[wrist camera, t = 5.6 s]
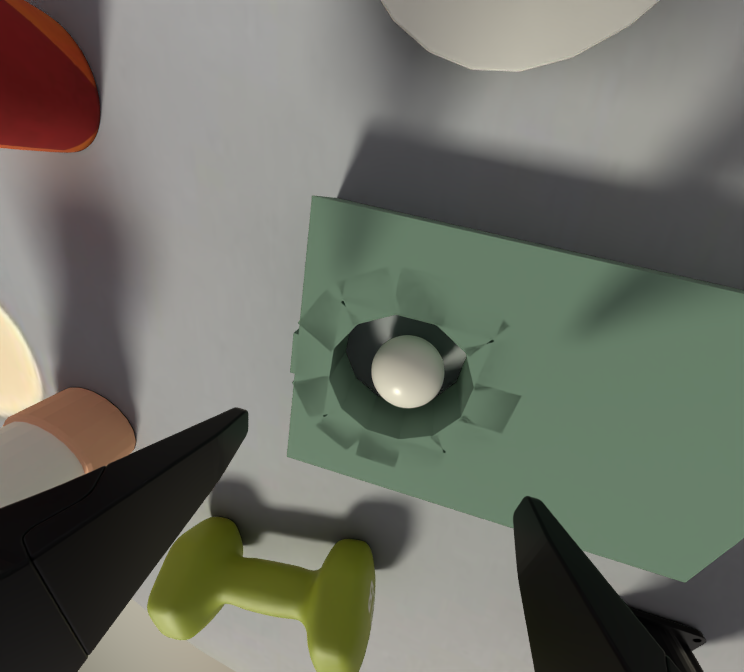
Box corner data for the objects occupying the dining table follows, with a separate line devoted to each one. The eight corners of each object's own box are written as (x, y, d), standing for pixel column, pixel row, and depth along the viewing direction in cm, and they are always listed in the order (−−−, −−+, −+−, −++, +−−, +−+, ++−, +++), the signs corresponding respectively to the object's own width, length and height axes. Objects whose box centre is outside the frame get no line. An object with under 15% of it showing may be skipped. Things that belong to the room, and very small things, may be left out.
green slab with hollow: (860, 316, 11) (991, 350, 9) (646, 525, 18) (685, 582, 15) (331, 196, 14) (305, 194, 11) (303, 421, 20) (282, 455, 17)
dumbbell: (378, 525, 23) (356, 650, 16) (381, 583, 26) (364, 708, 19) (198, 496, 26) (121, 591, 20) (221, 551, 29) (161, 649, 23)
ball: (393, 316, 16) (458, 338, 15) (379, 371, 17) (437, 394, 16) (367, 340, 13) (448, 370, 12) (354, 405, 14) (424, 435, 13)
